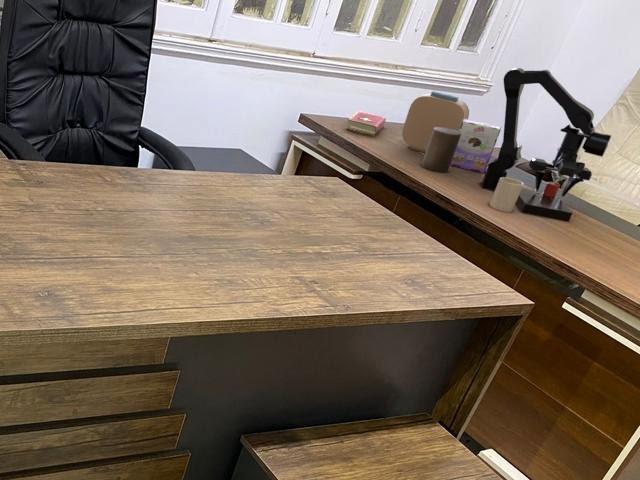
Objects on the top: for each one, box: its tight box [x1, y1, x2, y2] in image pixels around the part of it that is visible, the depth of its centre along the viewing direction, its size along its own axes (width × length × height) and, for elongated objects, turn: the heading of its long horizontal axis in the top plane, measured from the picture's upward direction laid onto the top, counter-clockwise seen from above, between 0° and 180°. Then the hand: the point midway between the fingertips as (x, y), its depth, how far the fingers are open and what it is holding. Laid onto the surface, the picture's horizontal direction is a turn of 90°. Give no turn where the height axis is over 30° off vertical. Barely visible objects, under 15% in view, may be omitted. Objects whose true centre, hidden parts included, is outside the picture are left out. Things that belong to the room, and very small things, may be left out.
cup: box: [489, 176, 524, 213], centre depth 256 cm, size 7×7×9 cm
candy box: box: [450, 118, 502, 174], centre depth 292 cm, size 14×6×16 cm, turn 65°
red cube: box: [542, 181, 561, 197], centre depth 267 cm, size 4×4×4 cm
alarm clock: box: [401, 90, 470, 154], centre depth 305 cm, size 21×10×22 cm, turn 58°
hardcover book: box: [346, 110, 387, 137], centre depth 327 cm, size 12×21×4 cm, turn 155°
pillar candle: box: [421, 127, 461, 173], centre depth 285 cm, size 10×10×15 cm
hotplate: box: [515, 187, 573, 223], centre depth 264 cm, size 16×21×3 cm
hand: (549, 193), depth 268 cm, fingers open, 8 cm apart
